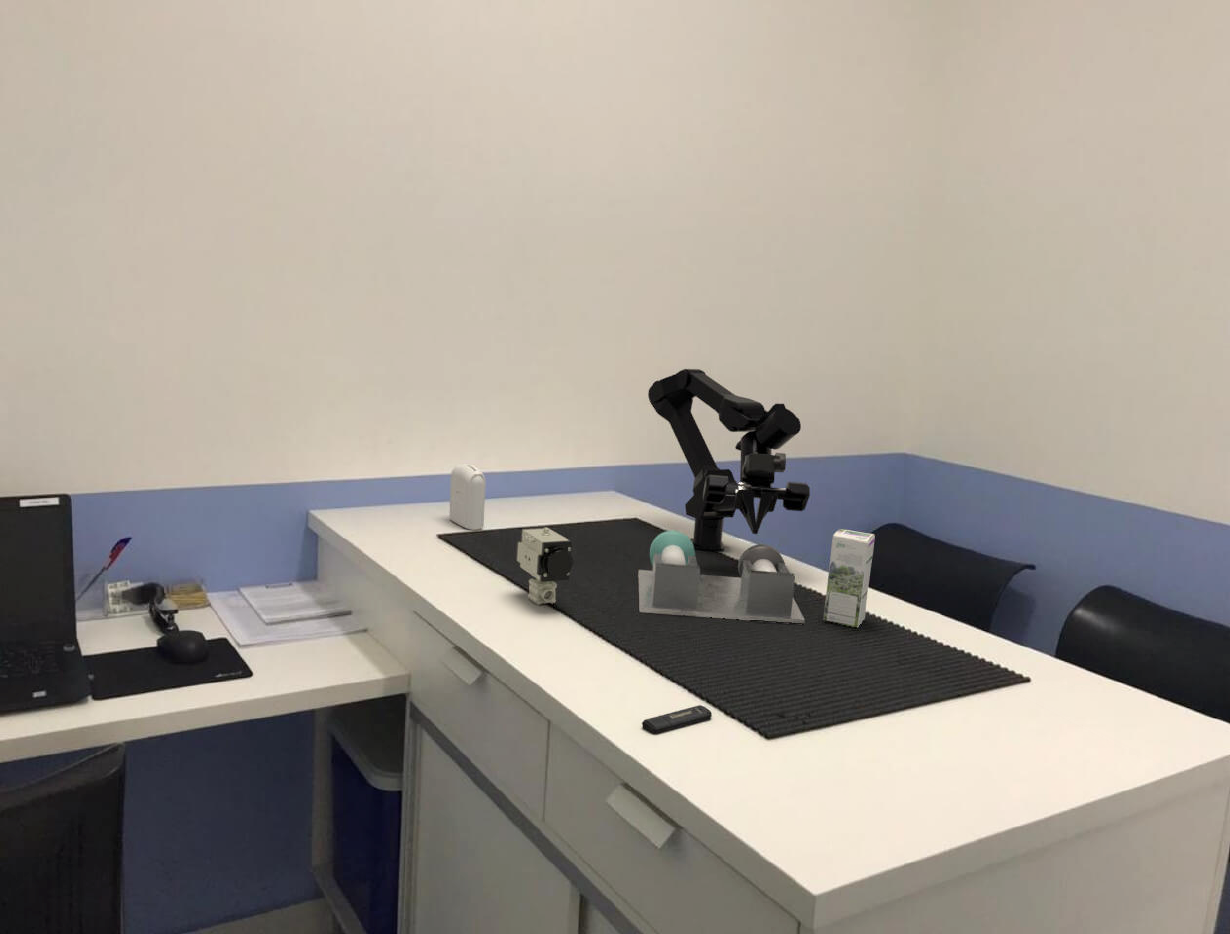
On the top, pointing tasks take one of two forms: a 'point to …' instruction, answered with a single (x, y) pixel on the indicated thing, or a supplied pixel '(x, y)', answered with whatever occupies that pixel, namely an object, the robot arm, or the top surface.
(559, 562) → the pneumatic valve
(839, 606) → the syrup box
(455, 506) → the photo printer
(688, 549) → the teal knob
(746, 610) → the mount
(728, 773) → the top surface
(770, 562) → the dark grey rounded piece
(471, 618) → the top surface
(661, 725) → the usb stick
